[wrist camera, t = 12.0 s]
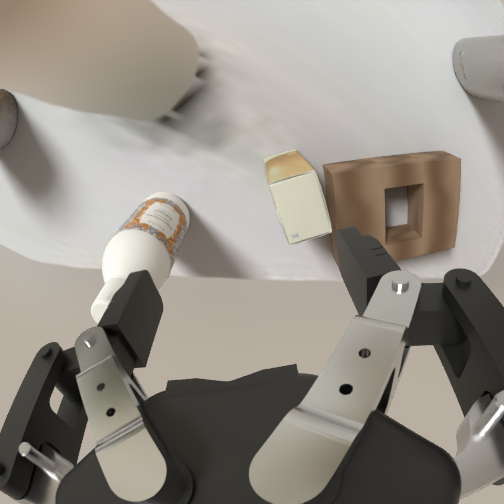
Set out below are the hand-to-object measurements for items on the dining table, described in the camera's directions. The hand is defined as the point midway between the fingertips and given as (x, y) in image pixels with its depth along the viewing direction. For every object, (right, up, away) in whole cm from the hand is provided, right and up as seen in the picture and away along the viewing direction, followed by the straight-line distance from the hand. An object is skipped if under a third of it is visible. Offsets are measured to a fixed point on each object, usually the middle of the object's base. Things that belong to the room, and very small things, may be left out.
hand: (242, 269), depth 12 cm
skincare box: (+5, +10, +24) cm, 26 cm away
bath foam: (-11, +5, +26) cm, 29 cm away
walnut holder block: (+19, +7, +25) cm, 33 cm away
